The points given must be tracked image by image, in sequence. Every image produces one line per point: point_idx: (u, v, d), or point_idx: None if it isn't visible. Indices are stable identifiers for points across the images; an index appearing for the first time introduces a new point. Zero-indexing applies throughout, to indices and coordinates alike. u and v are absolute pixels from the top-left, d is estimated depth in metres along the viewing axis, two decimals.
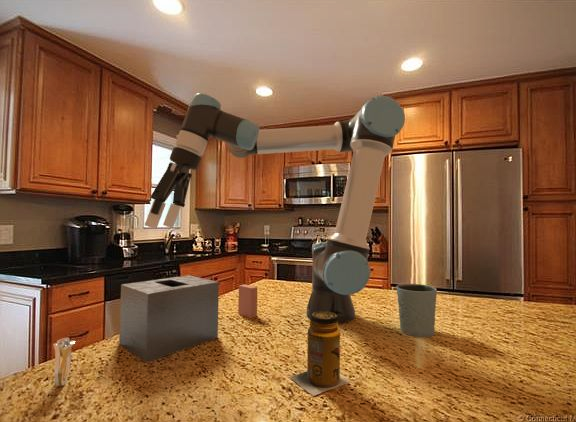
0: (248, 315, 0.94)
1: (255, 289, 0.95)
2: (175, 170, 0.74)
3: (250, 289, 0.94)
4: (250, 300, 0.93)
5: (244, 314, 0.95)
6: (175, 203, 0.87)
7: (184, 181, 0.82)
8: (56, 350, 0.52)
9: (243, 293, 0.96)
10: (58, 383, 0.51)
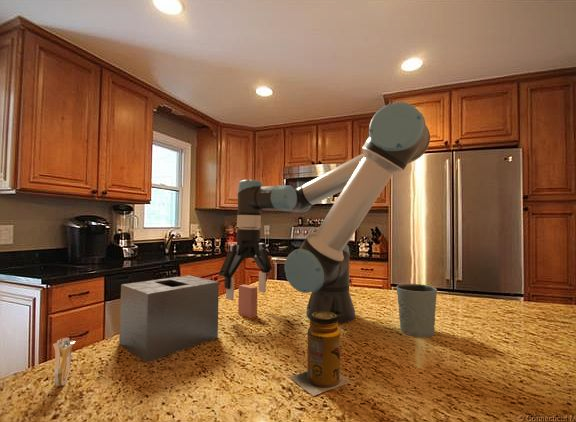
0: (248, 315, 0.94)
1: (255, 289, 0.95)
2: (232, 250, 0.91)
3: (250, 289, 0.94)
4: (250, 300, 0.93)
5: (244, 314, 0.95)
6: (262, 271, 1.02)
7: (254, 253, 0.97)
8: (56, 350, 0.52)
9: (243, 293, 0.96)
10: (58, 383, 0.51)
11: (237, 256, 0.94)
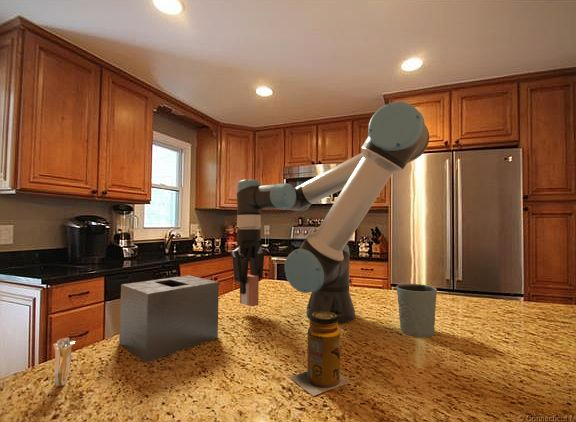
0: (250, 304, 0.94)
1: (256, 278, 0.95)
2: (236, 256, 0.92)
3: (251, 278, 0.94)
4: (252, 289, 0.93)
5: None
6: None
7: (253, 253, 0.96)
8: (56, 350, 0.52)
9: None
10: (58, 383, 0.51)
11: (242, 259, 0.95)
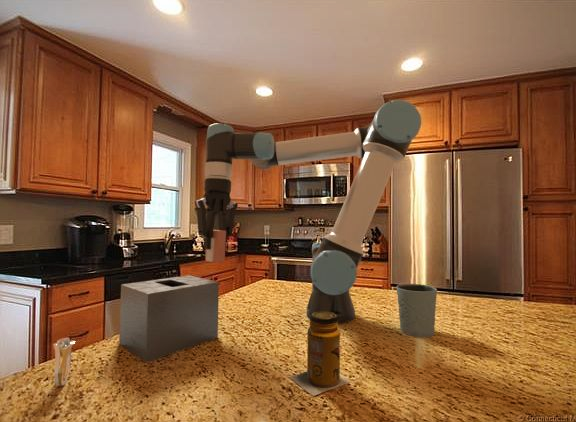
0: (214, 260, 0.85)
1: (223, 232, 0.85)
2: (200, 206, 0.82)
3: (217, 232, 0.85)
4: (217, 244, 0.84)
5: None
6: None
7: (222, 205, 0.87)
8: (56, 350, 0.52)
9: None
10: (58, 383, 0.51)
11: (209, 212, 0.86)
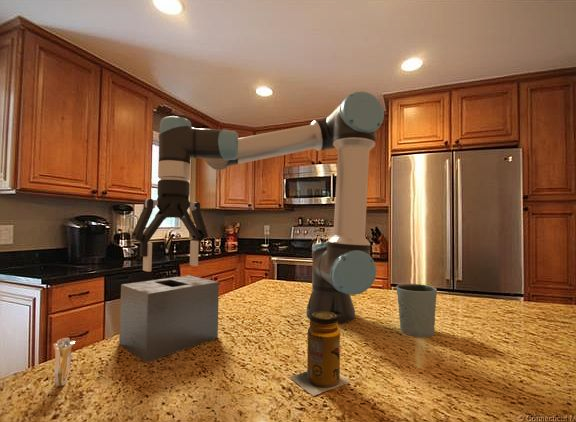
0: None
1: None
2: (147, 205, 0.70)
3: None
4: None
5: None
6: (194, 239, 0.80)
7: (181, 211, 0.76)
8: (56, 350, 0.52)
9: None
10: (58, 383, 0.51)
11: (157, 215, 0.73)
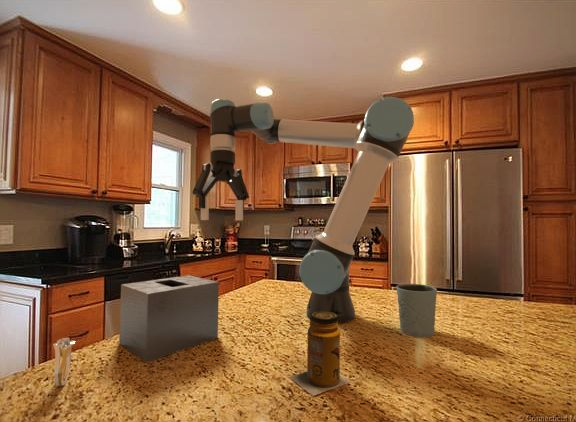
0: None
1: None
2: (206, 168, 0.87)
3: None
4: None
5: None
6: (239, 199, 0.99)
7: (229, 176, 0.94)
8: (56, 350, 0.52)
9: None
10: (58, 383, 0.51)
11: (211, 177, 0.90)
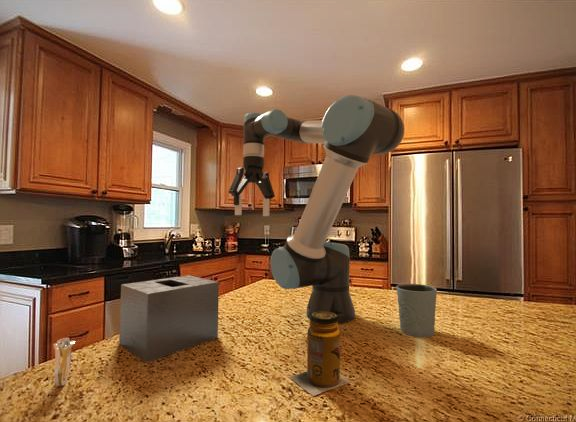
0: None
1: None
2: (240, 171, 1.04)
3: None
4: None
5: None
6: (266, 198, 1.15)
7: (259, 178, 1.10)
8: (56, 350, 0.52)
9: None
10: (58, 383, 0.51)
11: (244, 179, 1.07)
